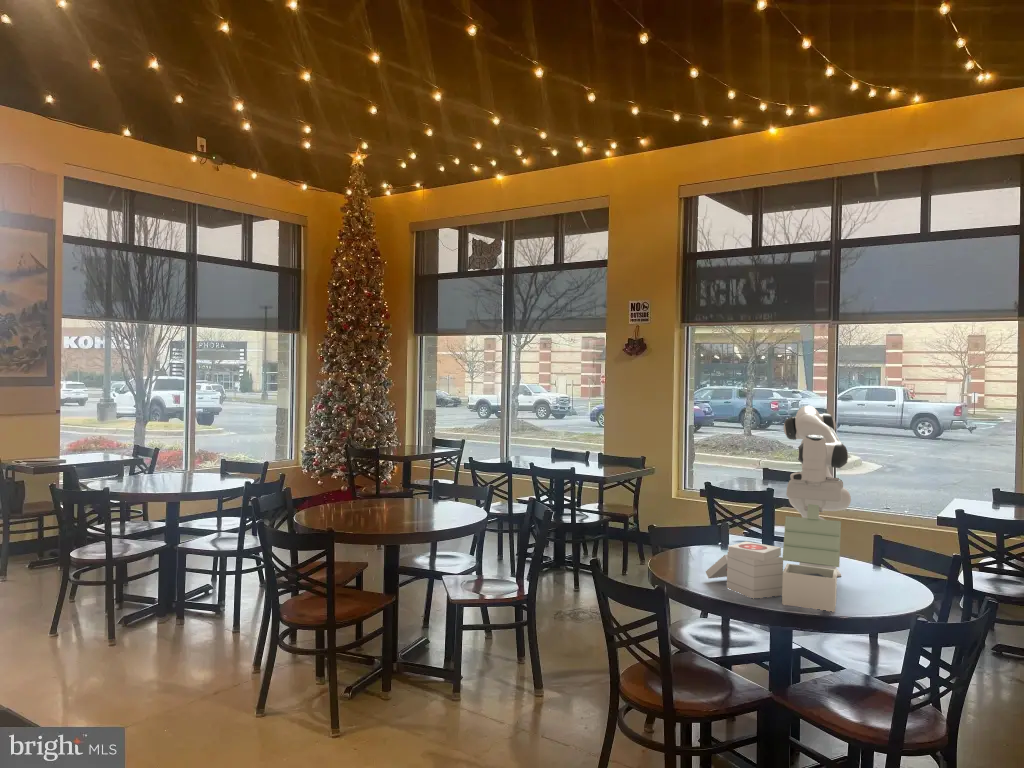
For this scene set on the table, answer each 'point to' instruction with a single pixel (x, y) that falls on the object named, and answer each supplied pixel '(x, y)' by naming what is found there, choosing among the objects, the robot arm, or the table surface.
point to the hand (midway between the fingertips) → (813, 511)
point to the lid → (812, 539)
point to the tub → (809, 587)
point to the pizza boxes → (751, 569)
